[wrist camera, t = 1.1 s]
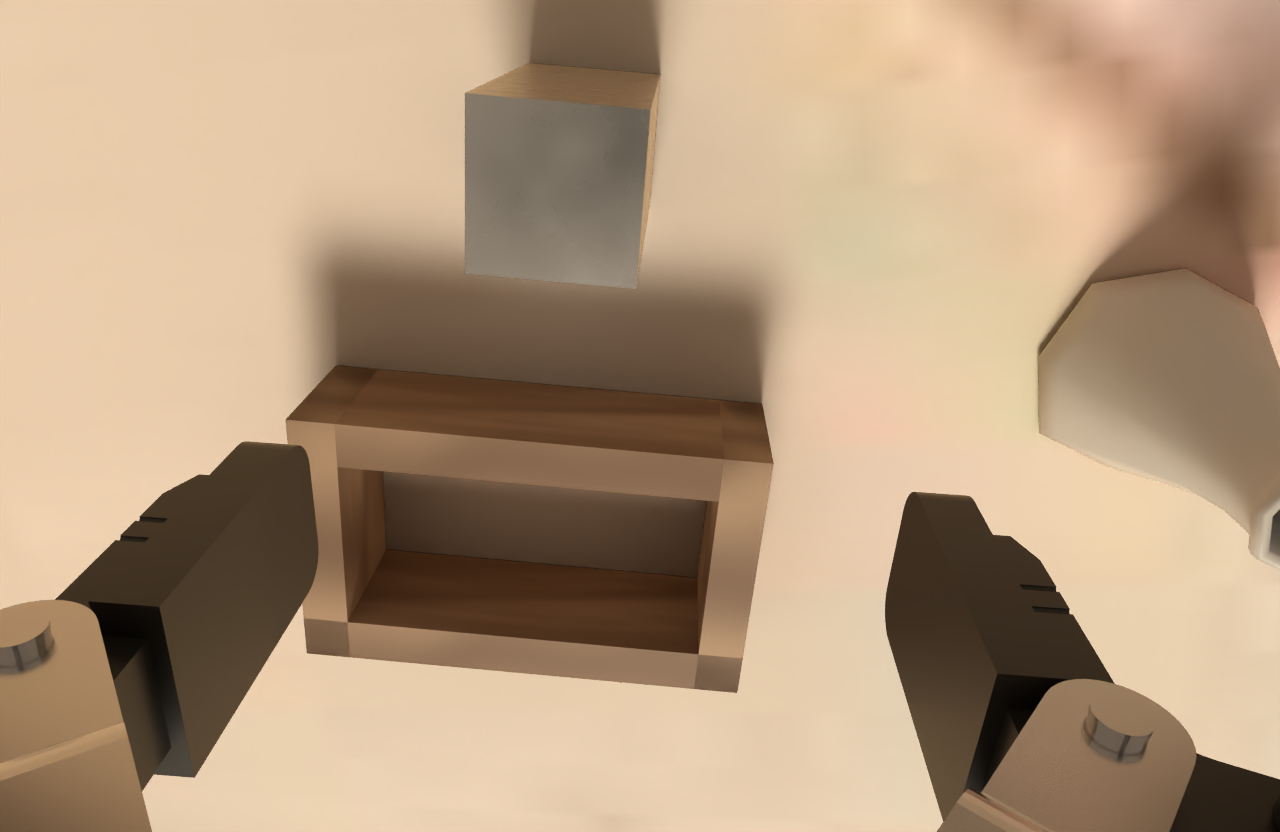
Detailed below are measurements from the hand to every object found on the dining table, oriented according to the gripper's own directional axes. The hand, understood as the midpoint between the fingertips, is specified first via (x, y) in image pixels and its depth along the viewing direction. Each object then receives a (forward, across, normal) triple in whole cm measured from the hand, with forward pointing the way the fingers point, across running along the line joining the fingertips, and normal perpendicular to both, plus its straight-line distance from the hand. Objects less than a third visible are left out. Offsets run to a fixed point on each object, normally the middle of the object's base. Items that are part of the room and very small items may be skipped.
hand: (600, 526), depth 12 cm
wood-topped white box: (+19, +2, -2) cm, 19 cm away
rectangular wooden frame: (+19, +3, +11) cm, 22 cm away
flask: (+19, -17, +4) cm, 26 cm away
